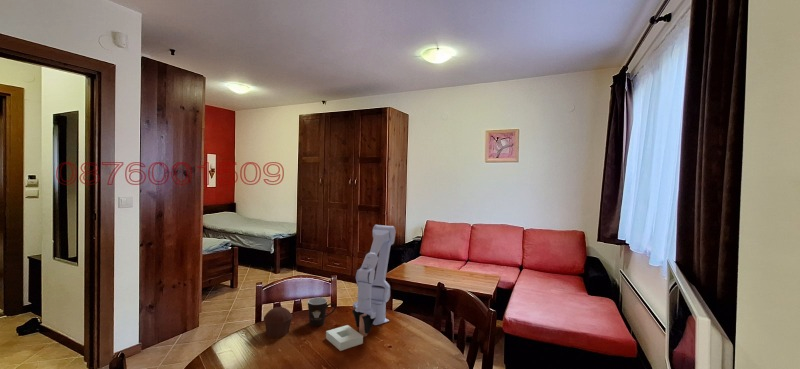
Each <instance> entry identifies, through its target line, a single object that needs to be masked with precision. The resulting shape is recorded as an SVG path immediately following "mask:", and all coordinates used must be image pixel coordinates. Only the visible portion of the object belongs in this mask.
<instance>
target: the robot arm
mask: <svg viewBox="0 0 800 369" xmlns="http://www.w3.org/2000/svg"><path fill="white" fill-rule="evenodd" d="M372 238H373V240H372V244H371V247H370V250H369V252H368V253H366V254H365V257H364V259H363V262H362V264H361V267H360V268H358V269H357V270H356V274H355V281H356V287H357V301H355V302H353V303H352V307H353V309H352V311H351V313H352V315H353V317H354V320H355V324H356V325H355V326H356V328H357V329H358V328H359V322H360V315H362V314H366V315H367V316H363V317H362V318H363V321H364V328H365V333H367V334H368V333H369V334H370V332H371V331H372V326H373V325H374V326H379V325H382V324H385V323H388V322H390V320H389V319H388V318H386V314H387V313H386V309H387V307H386V305H387V302H389V300H390V297H391V285H390V283H388V281H386V277H387V273H388V264H389V260H390V252H391V246H393V245H395V240H396V227H395V226H394V225H382V224H374V226H373V227H372Z"/></svg>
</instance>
